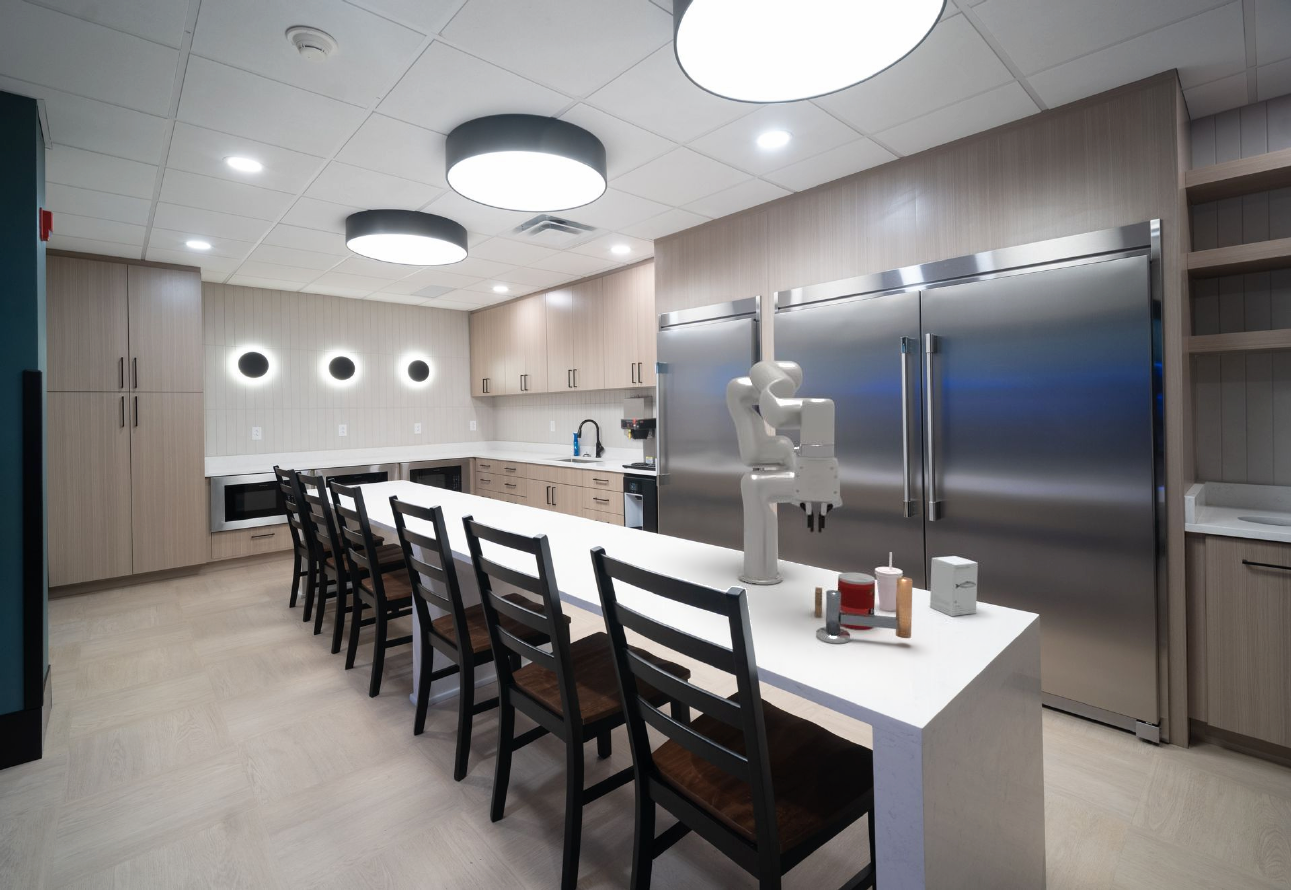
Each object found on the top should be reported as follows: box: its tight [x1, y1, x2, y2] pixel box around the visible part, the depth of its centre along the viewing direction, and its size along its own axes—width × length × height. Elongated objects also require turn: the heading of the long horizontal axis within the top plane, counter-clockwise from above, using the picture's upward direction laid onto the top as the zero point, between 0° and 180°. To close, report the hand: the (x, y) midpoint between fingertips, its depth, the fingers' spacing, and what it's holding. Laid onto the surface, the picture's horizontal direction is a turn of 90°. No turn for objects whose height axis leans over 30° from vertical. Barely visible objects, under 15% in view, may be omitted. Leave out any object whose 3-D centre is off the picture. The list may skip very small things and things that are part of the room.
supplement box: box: [929, 555, 979, 617], centre depth 144 cm, size 7×7×13 cm
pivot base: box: [815, 626, 851, 645], centre depth 128 cm, size 7×7×1 cm
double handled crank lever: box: [825, 576, 913, 639], centre depth 126 cm, size 17×3×13 cm, turn 73°
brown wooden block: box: [814, 586, 823, 619], centre depth 142 cm, size 4×2×6 cm, turn 163°
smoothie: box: [874, 552, 904, 612], centre depth 146 cm, size 6×6×14 cm
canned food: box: [837, 572, 876, 630], centre depth 136 cm, size 8×8×11 cm
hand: (816, 530), depth 138 cm, fingers closed
